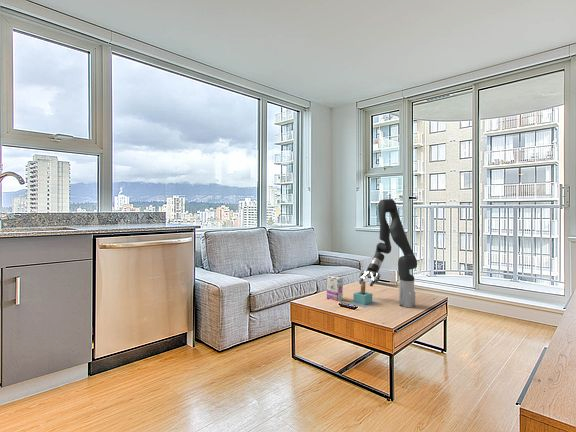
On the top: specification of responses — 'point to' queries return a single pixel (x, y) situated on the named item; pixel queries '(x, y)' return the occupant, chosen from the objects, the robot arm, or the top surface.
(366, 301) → the teal block with hole
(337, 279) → the candy bar box
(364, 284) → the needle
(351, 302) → the board
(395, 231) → the robot arm
